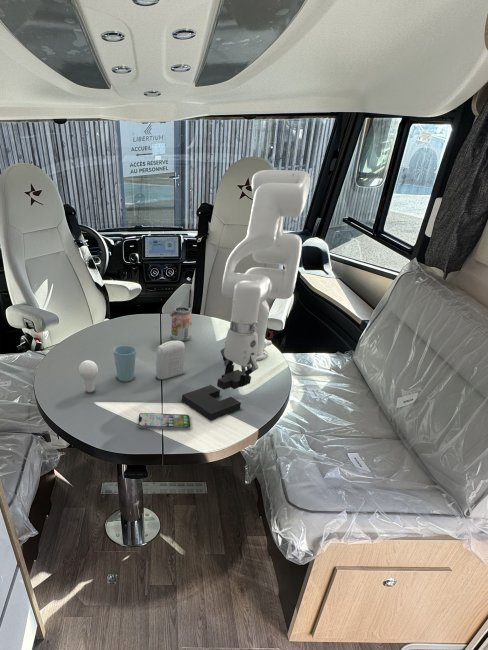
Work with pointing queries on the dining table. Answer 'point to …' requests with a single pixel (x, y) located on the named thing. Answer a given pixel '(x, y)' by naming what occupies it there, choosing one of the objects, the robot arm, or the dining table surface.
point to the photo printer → (170, 359)
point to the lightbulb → (88, 374)
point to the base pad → (210, 402)
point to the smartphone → (164, 421)
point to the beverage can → (181, 324)
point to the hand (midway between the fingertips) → (235, 381)
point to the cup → (125, 362)
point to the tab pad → (231, 380)
